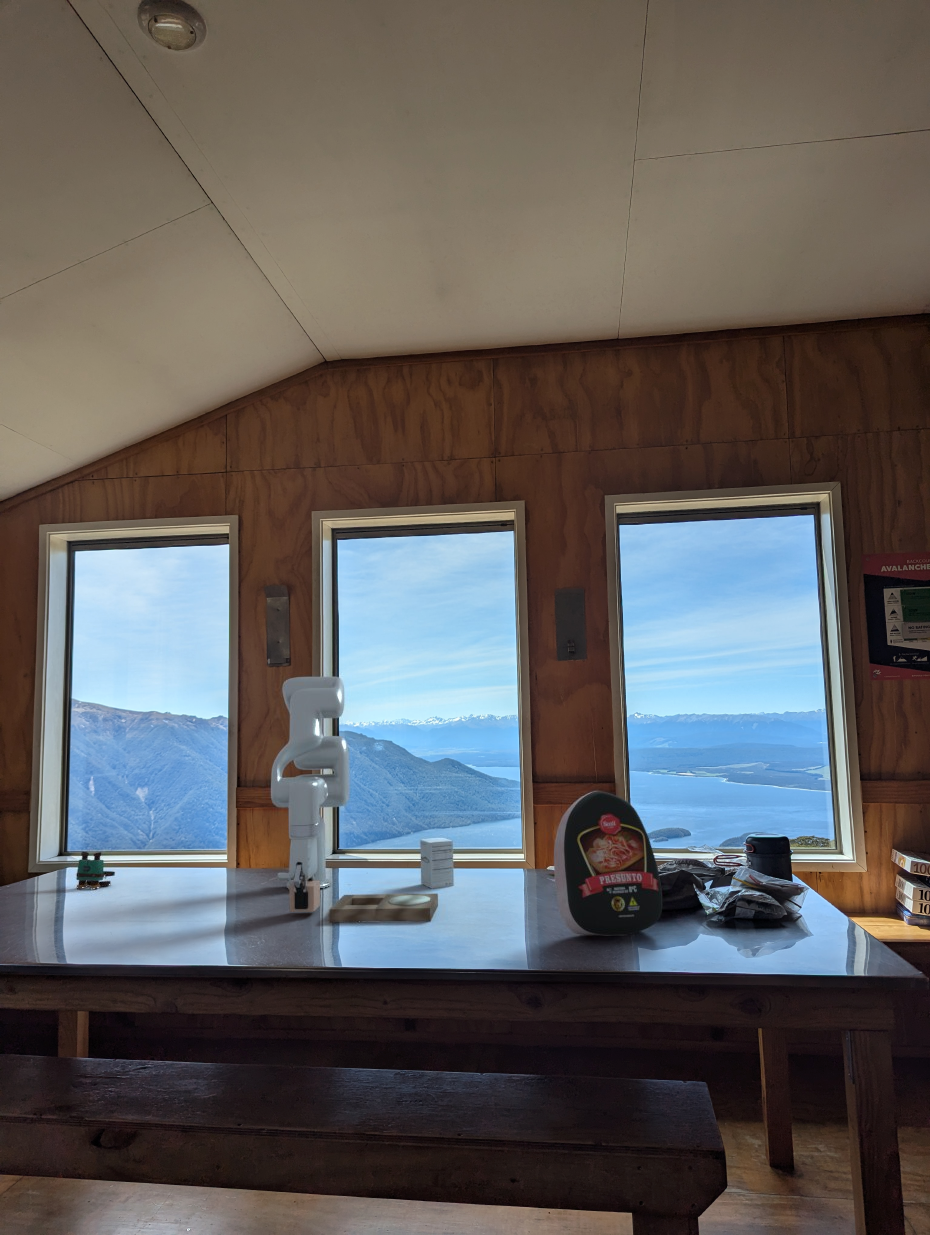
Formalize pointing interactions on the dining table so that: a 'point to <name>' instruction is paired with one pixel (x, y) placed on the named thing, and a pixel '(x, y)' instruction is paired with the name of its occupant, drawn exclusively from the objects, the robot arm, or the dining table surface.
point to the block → (313, 896)
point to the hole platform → (384, 907)
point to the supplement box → (437, 862)
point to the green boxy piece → (92, 871)
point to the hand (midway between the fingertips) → (305, 904)
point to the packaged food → (605, 868)
